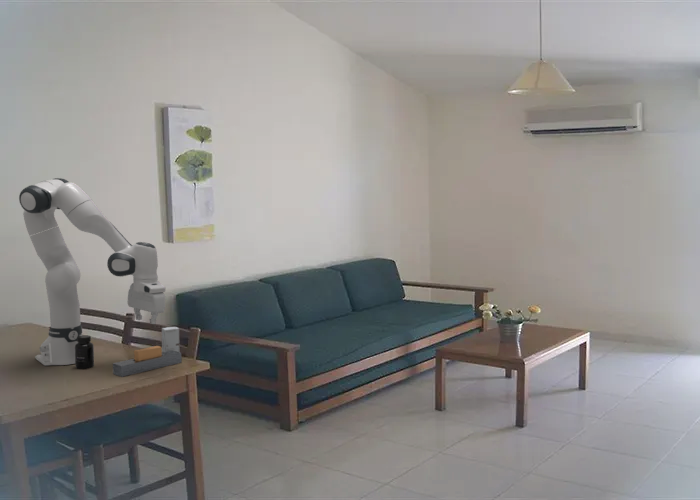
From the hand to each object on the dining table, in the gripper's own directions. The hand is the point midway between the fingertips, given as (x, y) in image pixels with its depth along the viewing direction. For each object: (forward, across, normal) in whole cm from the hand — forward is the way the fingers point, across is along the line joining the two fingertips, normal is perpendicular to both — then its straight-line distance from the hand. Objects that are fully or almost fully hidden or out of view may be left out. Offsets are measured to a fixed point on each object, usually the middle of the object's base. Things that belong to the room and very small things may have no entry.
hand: (145, 321), depth 271 cm
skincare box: (+18, -6, +16) cm, 25 cm away
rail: (+18, +1, 0) cm, 18 cm away
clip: (+18, +1, +1) cm, 18 cm away
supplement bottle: (+19, -19, -14) cm, 31 cm away
